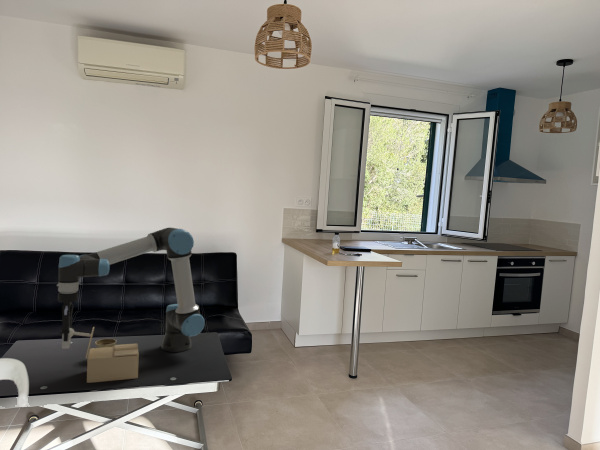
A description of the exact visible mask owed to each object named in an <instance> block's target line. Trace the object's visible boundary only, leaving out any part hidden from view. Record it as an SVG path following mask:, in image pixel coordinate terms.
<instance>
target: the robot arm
mask: <svg viewBox="0 0 600 450" xmlns="http://www.w3.org/2000/svg"><path fill="white" fill-rule="evenodd" d="M194 243H195V241H194V237H193V235H192V234H191V233H190V232H189V231H187V230H185V229H182V228H175V227H166V228H161V229H159V230H156V231H153V232H150V233H148V234H147V236H144V237H141V238H137V239H134V240H131V241H129V242H125V243H122V244H119V245H115V246H112V247H109V248H106V249H103V250H98V251H96V252H93V253H90V254H81V255H78V254H62V255H60V257H59V259H58V260H59V261H58V262H59V263H58V283H57V284H56V287H57V291H58V292H57V302H59V303H63V304H62V306H61V316H62V317H61V318H62V321H61V323H62V324H61V332H60V334H61V349H62V350H65V349H70V346H71V343H72V342H71V341H72V337H70V333H69V332H70V331H69V329H70V328H72V329H73V330H74V326H73V310H74V304H73V303H75V302H77V301H79V292H78V291H79V283H80V282H79V278H90V277H91V278H92V277H105V276H107V275H109V273H110V266H111V265H114V264H116V263H119V262H123V261H125V260H129V259H131V258H134V257H137V256H140V255H143V254H147V253H149V252H153V253H156V252H159V251H166V255H167V256H166V257H167V259H168V260H169V261H171V262H170V263H171V269H172V275H173V283H174V290H175V295H176V302H177V303H173V304H169V305H167V306H166V310H165V334H164V336H163V339H162V342H161V349H162V350H163V351H165V352H172V353H178V352H184V351H188V350H190V349H191V348H192V340H191V337H195V336H198V335H199V334H201V333H202V331H203V329H204V328H205V325H206V323H205V318H204V317H203V315H202V314H201V312H200V305H198V304H196V298H195V292H194V291H195V290H194V286H193V285H194V283H193V276H192V270H191V263H190V262H191V261H190V257H191V256H192V250H193V248H194V245H195V244H194Z"/></svg>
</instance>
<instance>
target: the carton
mask: <svg viewBox="0 0 600 450" xmlns="http://www.w3.org/2000/svg"><path fill="white" fill-rule="evenodd" d="M139 357H140V355H139V345H138V343H126V344H115V347H104V348H97V347H92V348H91V347H90V348H89V352H88V356H87V361H86V362H87V367H86V369H87V370H86V384H87V383H89V384H90V383H101V382H109V381H110V382H113V381H121V380H131V379H138V378H139Z"/></svg>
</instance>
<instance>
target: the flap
mask: <svg viewBox="0 0 600 450" xmlns="http://www.w3.org/2000/svg"><path fill="white" fill-rule="evenodd" d="M69 331H70V332H69V333H70V337H71V338H72V337H73V336H82V337H88V338H89V337H90V338H89V343H88V346H87V350H86V354H85V359H87V360H88V355H89V351H90V348H91V343H92V339H93V336H94V331H95V326H93V327H92V330H91V333H89V332H88V333H87V332H79V331H75V329H74V328H73V329H72V328H70V329H69Z"/></svg>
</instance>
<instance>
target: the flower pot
mask: <svg viewBox="0 0 600 450" xmlns="http://www.w3.org/2000/svg"><path fill="white" fill-rule="evenodd" d="M117 341H118V340H117V339H115V338H102V339H97V340H96V341H95V342H94V343H95V347H96V348H104V347H115V345H117V344H116V343H117Z"/></svg>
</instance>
